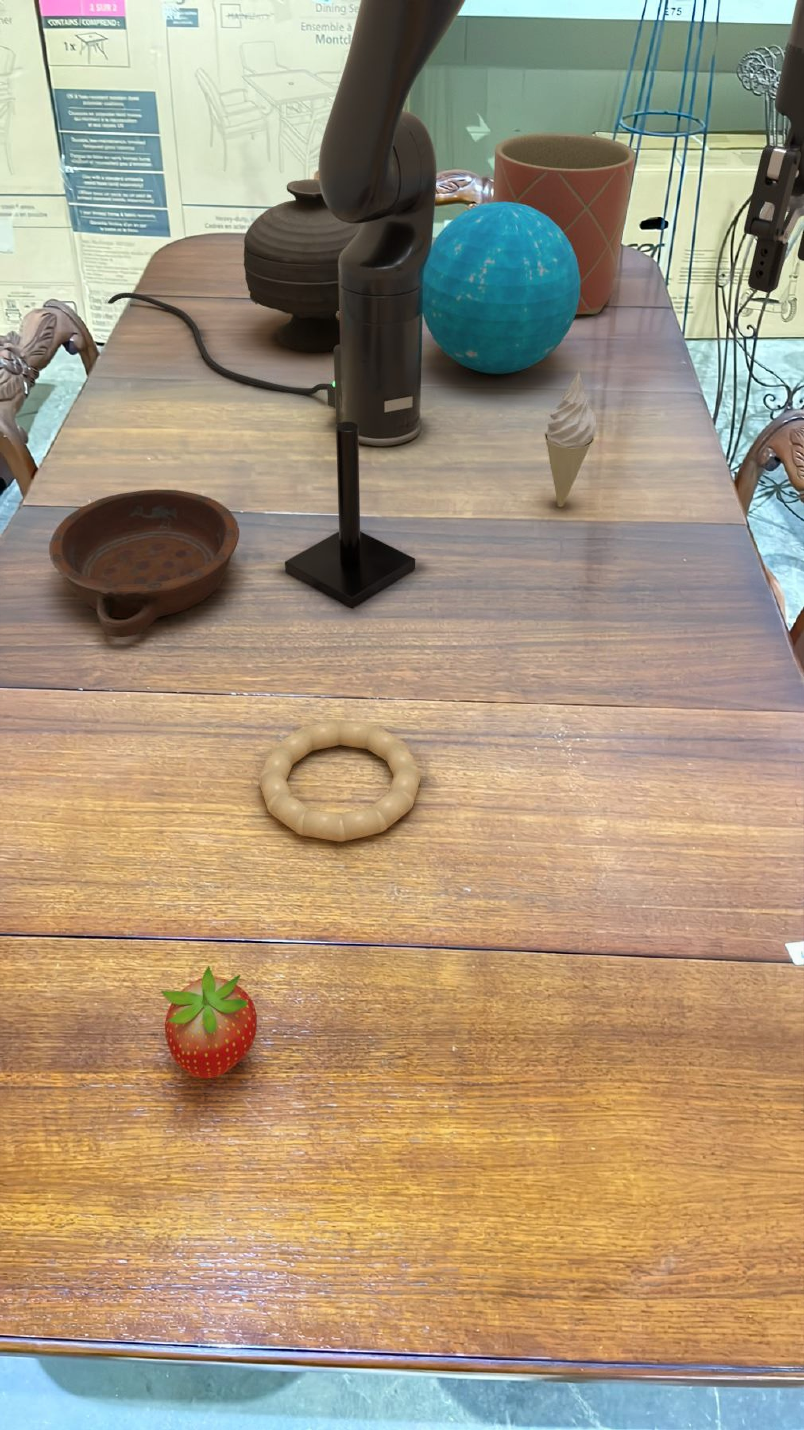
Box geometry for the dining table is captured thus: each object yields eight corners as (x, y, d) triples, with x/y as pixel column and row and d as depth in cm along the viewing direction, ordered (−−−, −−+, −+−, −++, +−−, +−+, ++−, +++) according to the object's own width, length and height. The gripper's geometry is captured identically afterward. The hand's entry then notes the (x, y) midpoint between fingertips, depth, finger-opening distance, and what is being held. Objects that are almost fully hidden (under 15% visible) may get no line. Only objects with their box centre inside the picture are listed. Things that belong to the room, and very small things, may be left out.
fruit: (197, 1017, 68) (181, 939, 62) (274, 1038, 67) (264, 961, 61) (158, 1092, 64) (138, 1016, 59) (239, 1117, 63) (226, 1041, 58)
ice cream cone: (582, 520, 113) (601, 384, 103) (534, 515, 114) (548, 379, 104) (586, 496, 116) (605, 362, 107) (539, 491, 117) (553, 358, 107)
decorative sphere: (593, 392, 136) (616, 226, 123) (441, 408, 132) (447, 238, 119) (540, 331, 150) (555, 176, 137) (401, 343, 147) (403, 185, 133)
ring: (229, 790, 83) (227, 771, 81) (339, 714, 89) (338, 695, 88) (342, 871, 77) (341, 853, 75) (450, 783, 84) (451, 764, 82)
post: (285, 571, 105) (274, 427, 95) (349, 535, 110) (345, 394, 100) (352, 608, 101) (348, 461, 91) (415, 568, 106) (418, 425, 96)
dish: (254, 519, 112) (250, 476, 109) (229, 650, 96) (223, 604, 92) (86, 518, 112) (77, 474, 109) (32, 648, 96) (19, 602, 92)
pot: (410, 323, 150) (401, 170, 136) (337, 380, 140) (319, 221, 126) (306, 299, 158) (288, 152, 143) (230, 351, 147) (202, 199, 133)
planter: (623, 324, 153) (646, 171, 139) (488, 321, 153) (498, 168, 140) (606, 276, 167) (625, 133, 154) (483, 274, 167) (491, 131, 154)
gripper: (836, 19, 81) (783, 242, 92) (746, 46, 73) (700, 287, 84) (935, 33, 78) (868, 263, 89) (852, 62, 70) (789, 312, 80)
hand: (786, 275), depth 86 cm, fingers open, 8 cm apart
